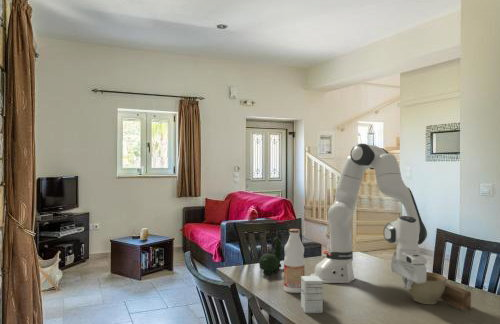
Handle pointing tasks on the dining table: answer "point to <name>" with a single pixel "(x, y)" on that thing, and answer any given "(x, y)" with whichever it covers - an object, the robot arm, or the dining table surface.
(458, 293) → the board
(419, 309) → the dining table surface
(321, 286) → the supplement box
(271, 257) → the green shrub
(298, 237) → the fruit juice
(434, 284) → the planter bowl
